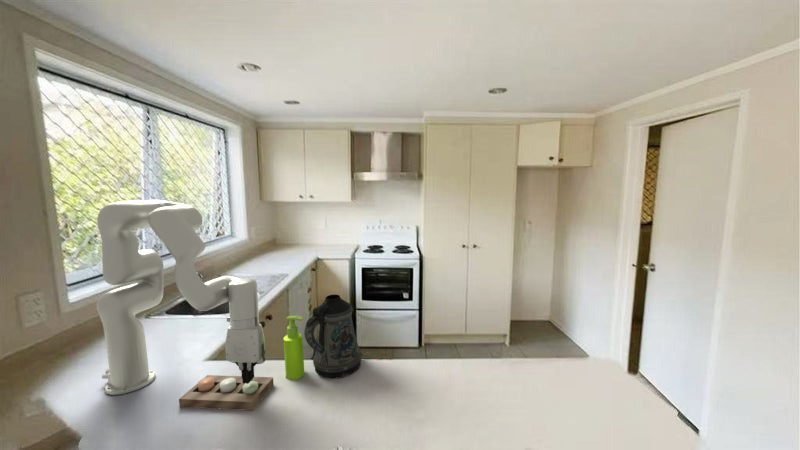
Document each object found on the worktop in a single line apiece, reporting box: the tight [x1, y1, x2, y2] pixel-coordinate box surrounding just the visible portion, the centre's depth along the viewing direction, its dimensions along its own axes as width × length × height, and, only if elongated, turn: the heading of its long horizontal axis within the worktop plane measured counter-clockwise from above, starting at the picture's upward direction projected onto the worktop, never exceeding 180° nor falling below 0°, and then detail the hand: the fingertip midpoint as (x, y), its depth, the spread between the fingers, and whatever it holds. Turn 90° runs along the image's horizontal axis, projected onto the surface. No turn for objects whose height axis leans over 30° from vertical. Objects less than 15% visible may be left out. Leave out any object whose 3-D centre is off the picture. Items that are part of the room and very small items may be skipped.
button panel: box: [178, 374, 274, 411], centre depth 98 cm, size 22×12×2 cm, turn 85°
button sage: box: [243, 381, 258, 394], centre depth 97 cm, size 4×4×2 cm
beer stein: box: [303, 294, 363, 380], centre depth 110 cm, size 16×19×25 cm
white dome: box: [220, 378, 236, 393], centre depth 97 cm, size 4×4×2 cm
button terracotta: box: [197, 377, 215, 392], centre depth 98 cm, size 4×4×2 cm
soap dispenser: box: [283, 315, 305, 380], centre depth 107 cm, size 6×7×20 cm
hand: (248, 380), depth 97 cm, fingers closed
